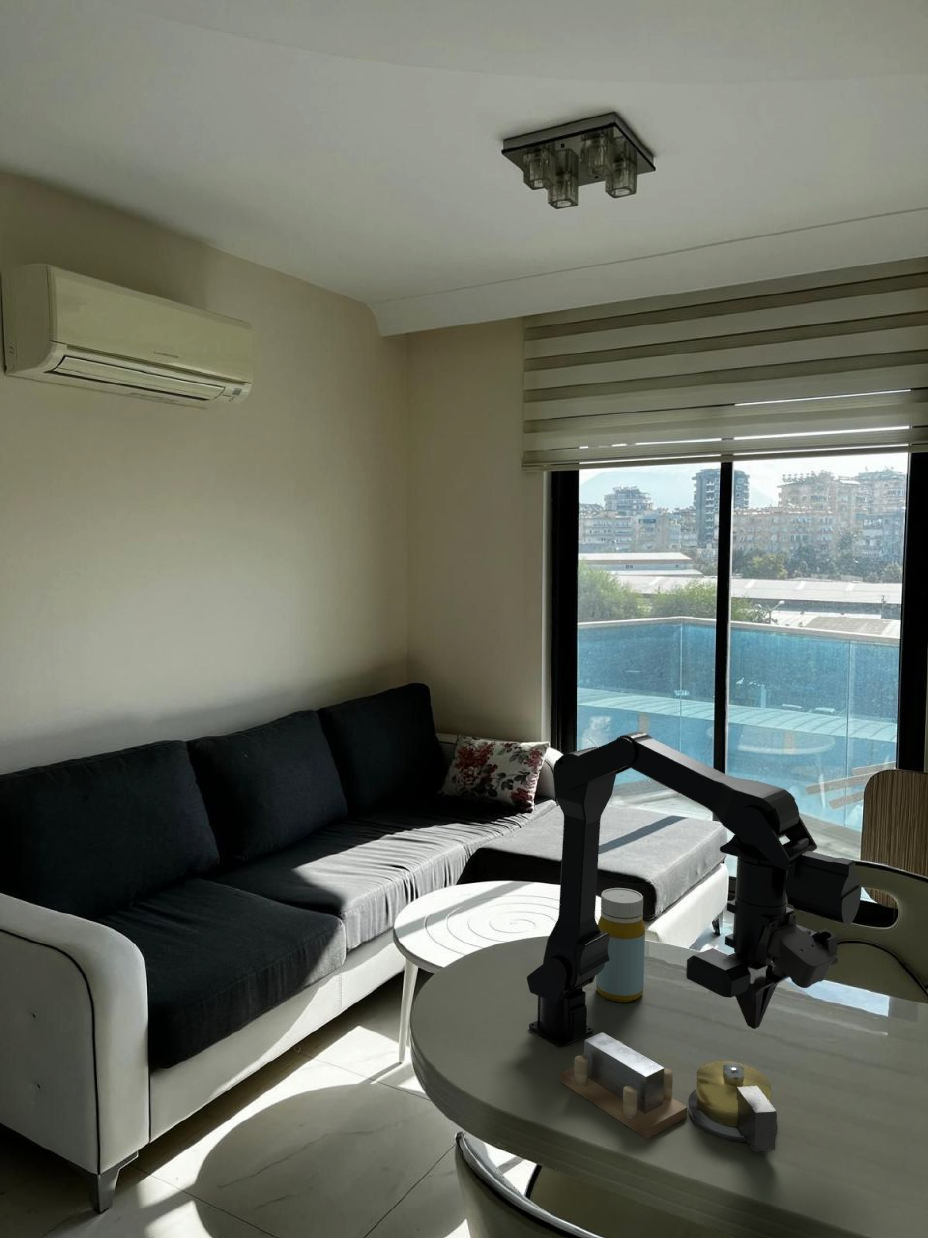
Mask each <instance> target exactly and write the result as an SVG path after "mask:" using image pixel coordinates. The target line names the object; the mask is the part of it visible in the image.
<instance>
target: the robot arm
mask: <svg viewBox="0 0 928 1238" xmlns="http://www.w3.org/2000/svg"><path fill="white" fill-rule="evenodd" d="M630 769H632V770H634V771H635V772H637V773H639V774H641V775H644V776H645V777H647V778H649V779H651V780H653V781H655V782H657V783H659V784H660V785H663V786H664V787H666V788H668V789H670V790H672V791H674V792H676V793H678V794H680V795H681V796H683V797H686V798H687V799H689V800H692V801H693V802H695V803H697V804H699V805H701V806H703V807H705V809H708V810H709V812H711V813H712V814H714V816H715V817H716V819H717V820H718V822H719V823H720V824H721V825H722V826H723V827H724V828H725V829H727V830H728V831H729V832H731V833H732V834H733V836H732V837H731V839H729V840H728V842H726V843H724V844H723V845H721V846H720V847H719V851H720V853H722V854H725V855H730V856H733V857H737V858H736V876H735V878H736V879H735V893H734V894H735V895H734V896H735V897H734V899H733V900H730V901H727V902H726V911H727V912H729V913H732V914H733V926H732V927H733V928H732V933H730V934H727V935H725V936H724V945H725V946H728V947H729V948H731V949H733V953H730V954H727V953H725V952H723V951H719V950H718V949H715V948H714V947H712V948H710V949H707V950H703V951H701V952H698V953H695V954H693V955H692V956H690V957H689V958H687V959H686V969H685V976H686V980H689V981H690V982H693V983H695V984H697V985H699V986H701V987H702V988H705V989H707V990H708V991H710V992H712V993H715V994H717V995H718V996H720V997H723V998H734V997H735V998H736V999H735V1000H736V1001H737V1004H738V1006H739V1009H740V1011H741V1013H742V1016H743V1019H744V1020H745V1023H746V1025H747V1026H748V1027H750V1028H751V1029H753V1030H756V1029H758V1028H759V1027H760V1026H761V1023H762V1021H763V1018H764V1016H765V1013H766V1011H767V1010H768V1009H767V1008H768V1007H769V1005H770V1001H771V999H772V997H773V994H774V992H775V991H776V988H777V987H778V984H780V983H782V982H784V981H785V980H787V979H791V982H792V983H793V984H794V985H795V986H797V987H799V988H802V989H808V988H810V987H811V986H812V985H814V984H816V983H819V982H820V983H821V982H823V981H824V980H825V978H826V976H827V974H828V972H829V969H831V967H833V966H835V965H837V964H838V963H839V959H838V958H837V957H838V955H839V954H838V951H839V950H838V936H837V934H835V933H834V932H832V931H831V930H829V928H824V929H821V930H819V931H815V930H812V929H809V928H806V927H805V926H801V925H799V924H797V914H796V913H795V910H796V911H799V912H801V913H806V914H808V915H812V916H816V917H819V918H823V919H826V920H829V921H832V922H835V923H839V924H843V925H846V926H848V925H851V924H852V923H853V921H854V920H855V917H856V916H857V913H858V911H859V908H860V903H861V899H862V898H861V897H862V891H863V889H862V888H863V887H862V886H861V885H860V884H861V883H860V877H859V874H858V873H857V872H856V861H855V860H853V859H849V858H846V857H845V858H844V857H835V856H831V855H826V854H822V853H818V852H814V851H816V850H817V849H818V845H817V844H816V841H815V839H814V838H813V837H812V834H811V833H810V831H809V830H808V827H806V825H805V823H804V821H803V819H802V817H801V816H800V810H799V807H798V804H797V802H796V799H795V797H794V796H793V795H792V793H790V791H788V790H786V789H784V788H782V787H779V786H776V785H772V784H769V783H765V782H762V781H759V780H754V779H748V778H747V779H746V778H739V777H735V776H733V775H727V774H726V773H724V772H721V771H719V770H718V769H715V768H713V767H711V766H709V765H707V764H706V763H703V762H701V761H699V760H697V759H695V758H694V757H691V756H689V755H687V754H685V753H683V752H681V751H679V750H676V749H674V748H672V747H670V746H668V745H667V744H664V743H662V742H661V741H658V740H657V739H654V738H653V737H652V736H650V734H649V733H646V732H643V731H635V732H631V733H627V734H623V735H620V736H618V737H616V739H615V740H613V741H610V742H609V743H606V744H604V745H601V746H592V747H588V748H584V749H579V750H576V751H572V752H568V753H565V754H562V755H561V756H560V757H559V758H557V760H555V762H554V764H553V768H552V778H553V790H554V797H555V800H556V801H557V804H558V806H559V807H560V809H561V812H562V814H563V829H562V844H561V846H562V849H561V863H560V864H561V866H560V867H561V868H560V885H559V903H558V905H559V906H558V917H557V920H556V922H555V924H554V926H553V928H552V930H551V932H550V934H549V936H548V938H547V939H546V945H545V949H544V954H543V959H542V964H541V965H540V966H538V967H537V968H536V969H534V971H532V972H530V974H528V975H527V976H526V981H527V982H526V983H527V985H528V989H529V993H531V994H532V995H535V996H537V1016H536V1017H537V1020H534V1021H533V1022H530V1023H529V1024H528V1027H529V1029H530V1030H531V1031H533V1032H534V1033H535V1034H538V1035H539V1036H541V1037H543V1038H544V1039H546V1040H548V1041H549V1042H551V1043H552V1044H554V1045H555V1046H557V1047H558V1048H559V1047H560V1048H561V1047H564V1046H567V1045H569V1044H571V1043H573V1042H576V1041H578V1040H580V1039H582V1038H585V1037H587V1036H589V1035H591V1034H593V1033H594V1029H593V1028H592V1027H591V1026H589V1025H587V1022H588V1021H587V1019H588V1018H587V1017H588V1006H587V1004H586V1002H587V1001H586V999H587V992H586V991H584V990H583V988H584V987H586V986H587V985H591V984H592V983H593V982H594V981H595V979H596V978H595V977H596V975H597V974H598V973H600V972H601V971H602V970H603V968H604V966H605V963H606V962H608V961H609V960H610V959H609V956H608V944H609V940H610V936H609V933H605V932H601V931H600V929H599V927H598V922H597V920H596V903H597V889H598V888H597V887H598V884H597V883H598V873H599V872H598V871H599V870H598V869H599V851H600V834H601V820H602V815H603V813H604V811H605V809H606V807H607V805H608V803H609V801H610V800H611V797H612V795H613V791H614V788H615V787H614V786H615V781H616V777H617V775H618V774H620V773H623V772H625V771H627V770H630ZM783 837H786V838H787V839H788V840H789V841H786V842H785V843H782V841H781V839H782V838H783ZM788 905H791V906H792V907H793V908H794V909H793V908H790V907H788Z"/></svg>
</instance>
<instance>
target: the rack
mask: <svg viewBox="0 0 928 1238" xmlns="http://www.w3.org/2000/svg"><path fill="white" fill-rule="evenodd" d="M616 1040H617V1041H619V1042H620V1043H622V1044H624V1043H623V1042H622V1041H621V1040H618V1039H616ZM673 1073H674V1072H673V1071H672V1070H671V1069H670V1068H666V1067H664V1099H663V1105H661V1106H660V1107H658V1108H656V1109H654V1110H652V1111H650V1112H648V1113H646V1114H644V1113H642V1112H641V1111H639V1110H638V1109H637V1091H638V1090H637V1089H636V1088H635V1087H633V1086H626V1087H624V1089H623V1100H622V1099H620V1098H619V1097H617V1096H616V1095H614V1094H613V1093H611V1092H609V1091H608V1090H606V1089H605V1088H603V1087H602V1086H600V1085H598V1084H597V1083H595V1082H594V1081H592V1080H591V1079H589V1078H587V1074H588V1059H587V1058H586V1057H584V1055H577V1056H575V1057H574V1066H573V1067H571V1068H569V1069H567V1070H565V1071H562V1072H561V1074H560V1076H561V1077H560V1082H561V1083H562V1084H564V1086H566V1087H568V1088H569V1089H571V1090H573V1091H574V1092H575V1093H577V1094H578V1095H579V1096H581V1097H582V1098H584V1099H586V1100H588V1101H589V1102H590V1103H591V1104H593V1105H595V1106H596V1107H598V1108H599V1109H601V1110H602V1111H604V1112H606V1113H607V1114H609V1116H611V1117H613V1118H614V1119H616V1120H617V1121H619V1122H620V1123H622V1124H623V1125H625V1126H626V1127H628V1128H630V1129H631V1130H632V1131H634V1132H636V1133H637V1134H638V1135H641V1136H642V1137H643V1138H644V1139H646V1140H648V1139H650V1138H652V1137H653V1136H655V1135H657V1134H659V1133H661V1132H663V1131H665V1130H666V1129H668V1128H670V1127H672V1126H673V1125H675V1124H677V1123H678V1122H680V1121H682V1120H684V1119H686V1118H688V1106H687V1105H685V1104H683V1103H682V1102H680V1101H678V1100H676V1099H675V1098H674V1097H673V1082H674V1081H673V1079H674V1078H673V1077H674V1076H673V1075H674V1074H673Z"/></svg>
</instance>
